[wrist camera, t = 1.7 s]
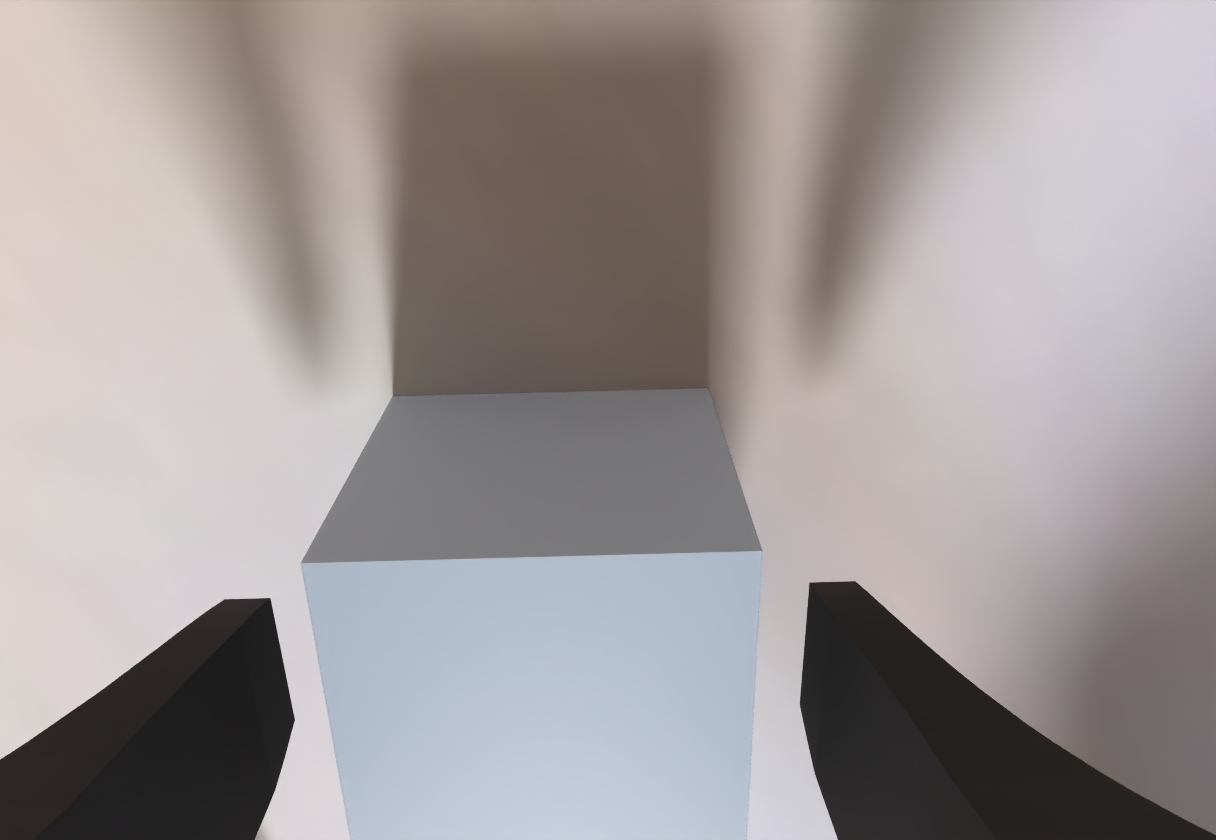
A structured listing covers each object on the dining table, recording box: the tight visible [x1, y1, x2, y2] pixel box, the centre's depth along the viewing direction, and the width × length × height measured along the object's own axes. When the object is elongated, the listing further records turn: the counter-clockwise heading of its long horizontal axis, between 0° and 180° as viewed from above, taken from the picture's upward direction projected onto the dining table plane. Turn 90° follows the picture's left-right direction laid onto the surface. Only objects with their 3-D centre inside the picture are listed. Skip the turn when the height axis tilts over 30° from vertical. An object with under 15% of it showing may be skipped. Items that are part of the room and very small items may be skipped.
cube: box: [301, 388, 762, 840], centre depth 13 cm, size 5×5×5 cm
